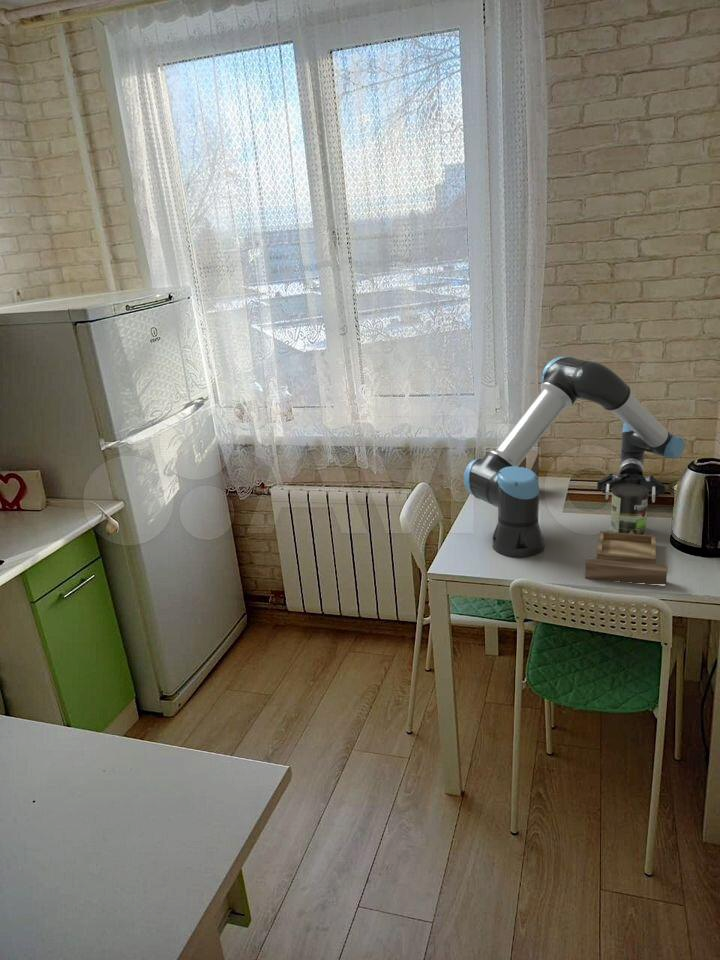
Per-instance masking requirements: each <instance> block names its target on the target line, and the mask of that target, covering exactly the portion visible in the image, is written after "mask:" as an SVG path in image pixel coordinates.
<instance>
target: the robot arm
mask: <svg viewBox="0 0 720 960" xmlns="http://www.w3.org/2000/svg"><path fill="white" fill-rule="evenodd" d="M631 391H632V390H631V387H630V386H629V384H627V382H625V381H624V380H623V379H622V377H620V376H619V375H618V374H616V372H614V371H613V370H612V369H611V368H609V367H607V366H606V365H604V364H601V363H600V362H597V361H589V360H584V359H580V358H579V359H578V358H575V357H572V356H559V357H555V358H553V359H552V360H550V361H549V362H548V363H547V364H546V366H545V367H544V368H543V371H542V376H541V384H540V392H539V394H538V396H537V397H535V399H534V400H533V402H532V403H531V404H530V406H529V407H528V408H527V410H525V412H524V413H523V414H522V415H521V417H520V418H519V420H518V421H517V423H515V425H514V426H513V427H512V429H510V431H509V433H508V434H507V435H506V436H505V437H504V439H503V440H502V441H501V442H500V444H499V445H498V446H497V447H496V449H494V450H488V451H487V452H486V453H485V455H484V456H483V457H482V458H481V457H480V458H475V459H473V460H471V461H469V463H468V464H467V466H466V468H465V469H464V473H463V485H464V489H466V491H467V492H468V493H469V494H470V495H472V496H473V497H474V498H475V499H478V500H481V501H484V502H486V503H487V504H490V505H492V506H494V507H496V508H497V523H496V527H495V529H494V532H493V534H492V538H491V539H492V541H491V543H492V545H491V546H492V548H493V549H494V551H496V552H497V553H499V554H501V555H504V556H509V557H514V558H515V557H516V558H523V557H524V558H525V557H530V556H534V555H538V554H539V553H541V552H542V551H543V550H544V548H545V539H544V538H545V537H544V536H543V533H542V530H541V527H540V524H539V508H540V505H539V503H540V484H539V482H540V481H539V476H538V477H537V475H536V474H535V473H534V472H533V471H531V470H529V469H527V468H524V467H520V468H519V467H518V466H519V465H520V464H521V462H522V461H523V460H524V458H525V457H526V458H527V457H528V454H529V452H530V451H532V449H533V448H534V447H535V446H536V445H537V443H538V442H539V441H540V439H541V438H542V436H543V435H544V434H545V433H546V432H547V430H548V429H549V428H550V426H551V425H552V423H554V421H555V420H556V418H557V417H559V415H560V413H561V412H562V411H563V409H567V408H568V409H569V408H571V407H572V406H573V405H574V403H575V402H576V401H577V400H578V399H580V400H585V401H588V402H593V403H595V404H597V405H599V406H601V408H603V409H604V410H605V411H609V412H612V413H613V414H614V415H615V416H616V417H617V418H618V419H620V420H621V421H622V422H623V424H622V431H621V449H620V464H619V465H620V466H619V473H618V474H619V475H618V476H616V475H614V473H609V474H608V476H606V477H603V478H602V479H600V480H599V481H597V485H596V490H597V491H601V490H602V491H601V493H602V494H605V500H609V495H610V490H612V487H614V486H615V485H619V484H638V485H642V486H644V487H646V488H648V490H649V493H651V503H655V501H656V497H657V498H658V497H660V494H662V495H664V494H665V491H666V486H665V485H664V484H663V483H661V481H658V479H656V478H655V477H654V475H650V476H649V477H645V476H644V464H645V452H647V453H651V454H654V455H657V456H661V457H664V458H666V459H667V458H668V459H672V460H673V459H674V460H676V459H678V458H680V457H681V456H682V455H683V452H684V451H685V447H686V442H685V439H684V438H683V437H681V436H678V435H676V434H672V433H671V432H669V430H667V429H666V427H664V426H663V425H662V424H661V423H660V421H659V420H658V419H657V418H655V416H654V415H653V414H652V413H650V411H649V410H648V409H647V408H646V407H645V406H644V405H643V404H642V403H641V402H640V401H639V400H638V399H637V398H636V397H635V396H634V395H633V394H632V393H631Z"/></svg>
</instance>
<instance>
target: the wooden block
mask: <svg viewBox="0 0 720 960" xmlns="http://www.w3.org/2000/svg"><path fill="white" fill-rule="evenodd" d="M539 464H540V452H539V451H533V450H531V451H530V452H529V453H528V455H527V456H526V457H525V458H524V460H523V461H522V462H521V464H520V465H519V466H518V467H519V468H520V467H524V468H527V469H529V470H531V471H533V472H534V473H535V474H536V475H537V477H538V478H539V470H540V469H539V468H540V467H539Z"/></svg>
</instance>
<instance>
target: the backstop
mask: <svg viewBox="0 0 720 960" xmlns="http://www.w3.org/2000/svg"><path fill="white" fill-rule="evenodd" d="M584 567H585V569H584V570H585V571H584V572H585V573H584V579H586V580H595V581H604V582H613V581H620V582H619V583H622V582H632V583H645V584H666V585H667V576H668V565H664V564H655V565H654V564H643V563H633V562H622V561H611V560H601V559H597V558H588V557H586V560H585V566H584ZM632 583H631V584H632Z"/></svg>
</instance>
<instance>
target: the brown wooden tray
mask: <svg viewBox="0 0 720 960" xmlns="http://www.w3.org/2000/svg"><path fill="white" fill-rule="evenodd" d="M598 538H599V539H598V547H597V554H596V559H601V560H611V561H622V562H633V563H643V564H654V565H656V558H657V557H656V551H657V549H656V535H653V534H652V535H651V534H645V535H641V534H629V533H617V532H610V531H602V530H600V532H599V537H598Z"/></svg>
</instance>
